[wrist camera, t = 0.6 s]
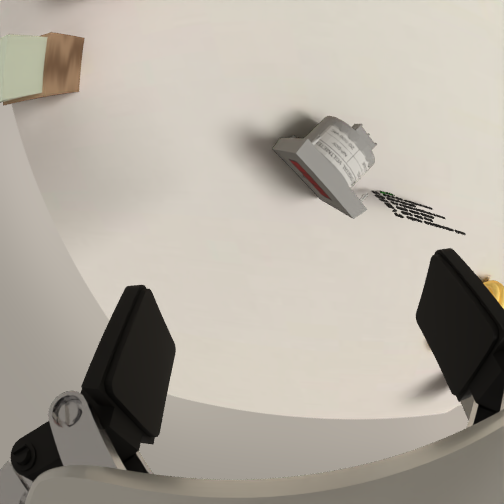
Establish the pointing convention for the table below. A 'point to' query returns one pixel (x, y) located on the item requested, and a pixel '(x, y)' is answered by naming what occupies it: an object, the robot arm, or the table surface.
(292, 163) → the voltmeter
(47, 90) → the walnut block
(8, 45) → the sage block
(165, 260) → the table surface
